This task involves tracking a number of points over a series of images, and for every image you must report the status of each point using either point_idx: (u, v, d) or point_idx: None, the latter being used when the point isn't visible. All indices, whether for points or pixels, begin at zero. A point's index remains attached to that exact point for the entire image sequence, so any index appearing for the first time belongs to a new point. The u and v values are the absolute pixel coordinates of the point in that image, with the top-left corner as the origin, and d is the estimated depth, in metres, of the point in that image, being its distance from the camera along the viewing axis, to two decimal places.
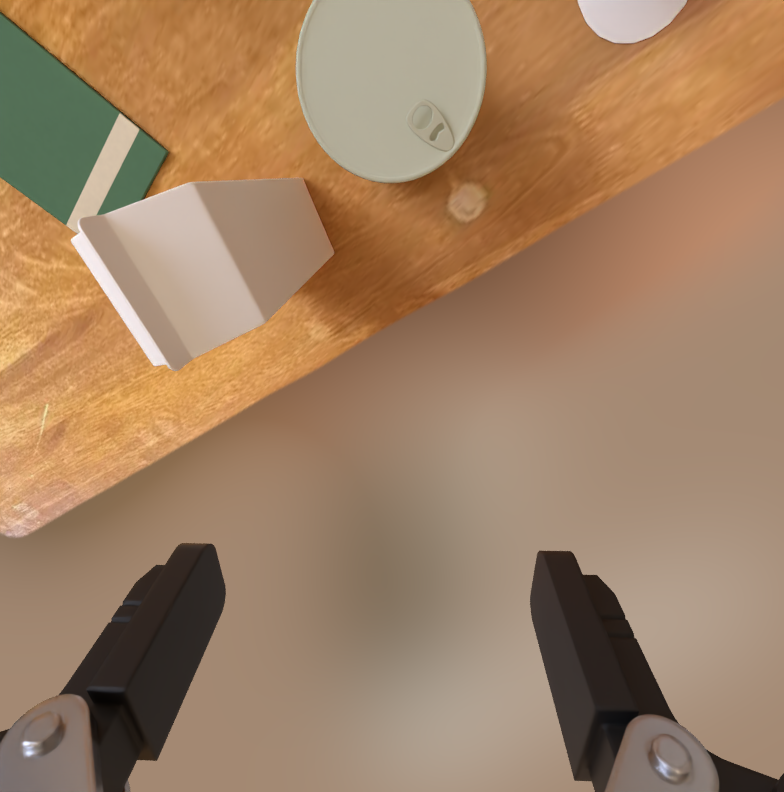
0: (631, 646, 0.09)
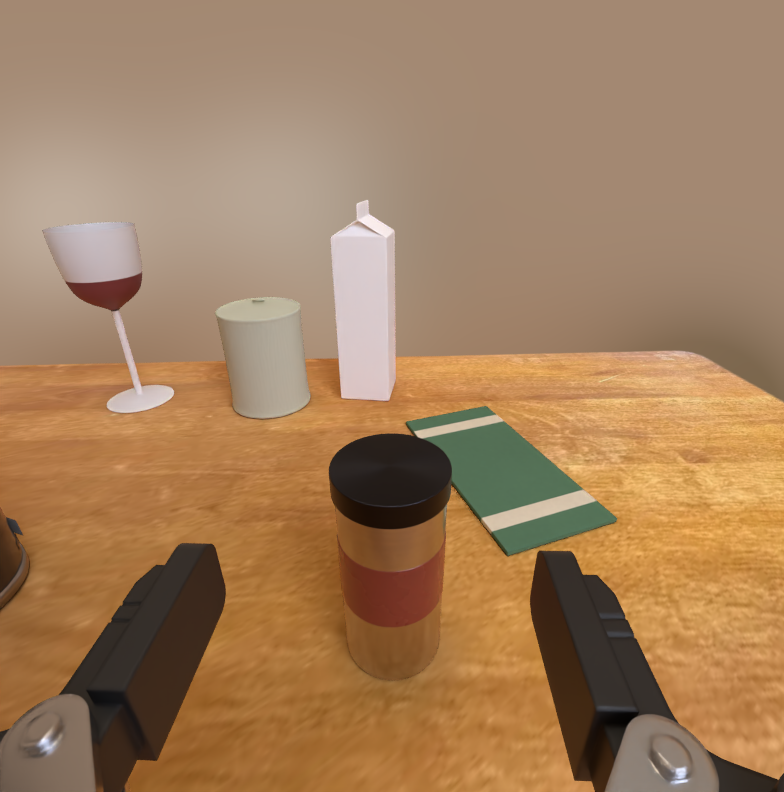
0: (631, 646, 0.09)
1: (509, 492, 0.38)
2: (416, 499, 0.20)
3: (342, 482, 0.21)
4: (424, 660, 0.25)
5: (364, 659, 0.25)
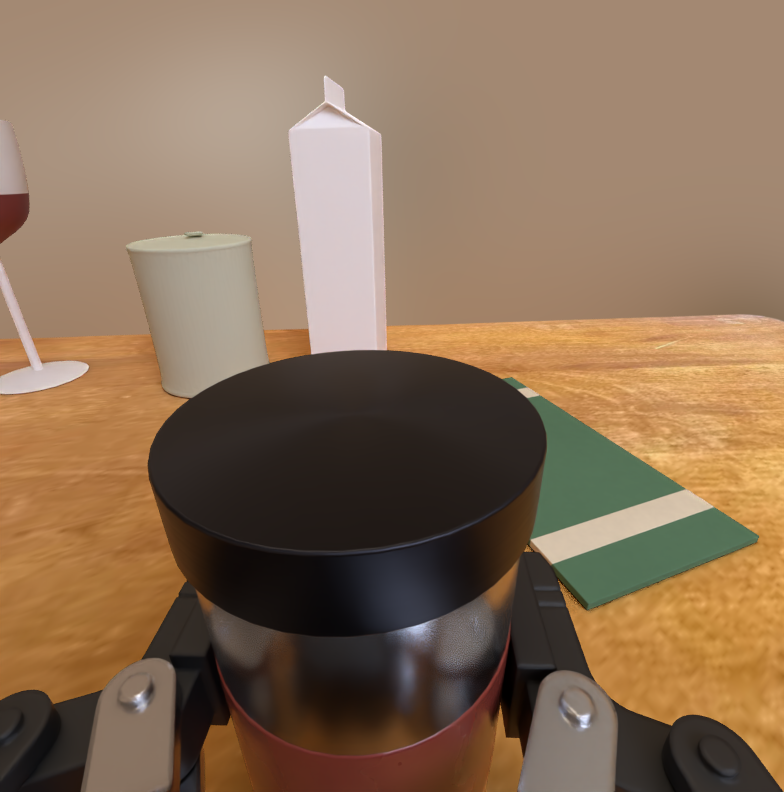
0: (562, 614, 0.09)
1: (569, 496, 0.24)
2: (442, 519, 0.05)
3: (180, 462, 0.06)
4: None
5: None
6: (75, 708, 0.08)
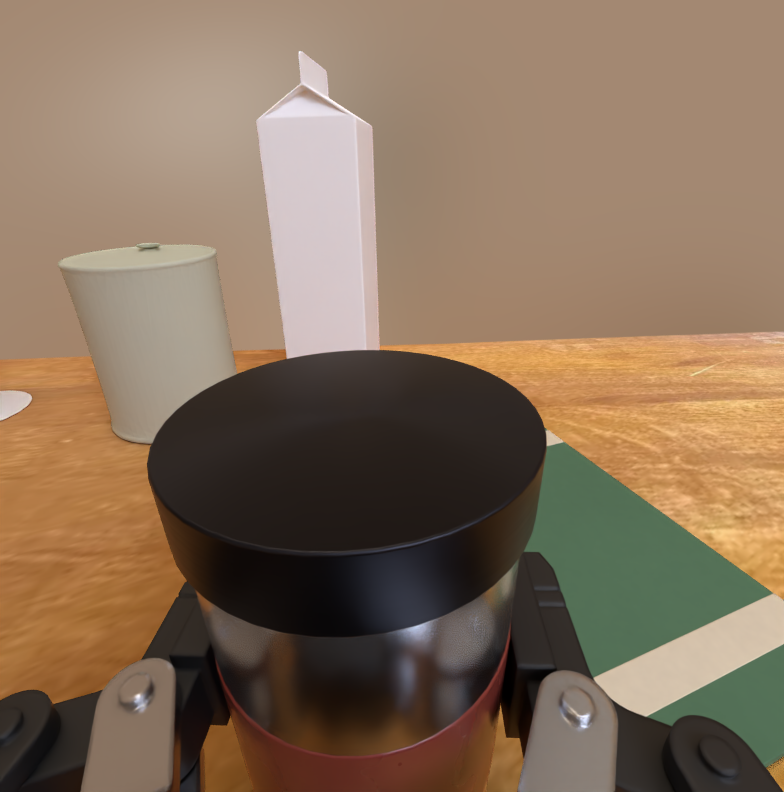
0: (561, 614, 0.09)
1: (619, 604, 0.18)
2: (441, 520, 0.05)
3: (179, 463, 0.06)
4: None
5: None
6: (75, 709, 0.08)
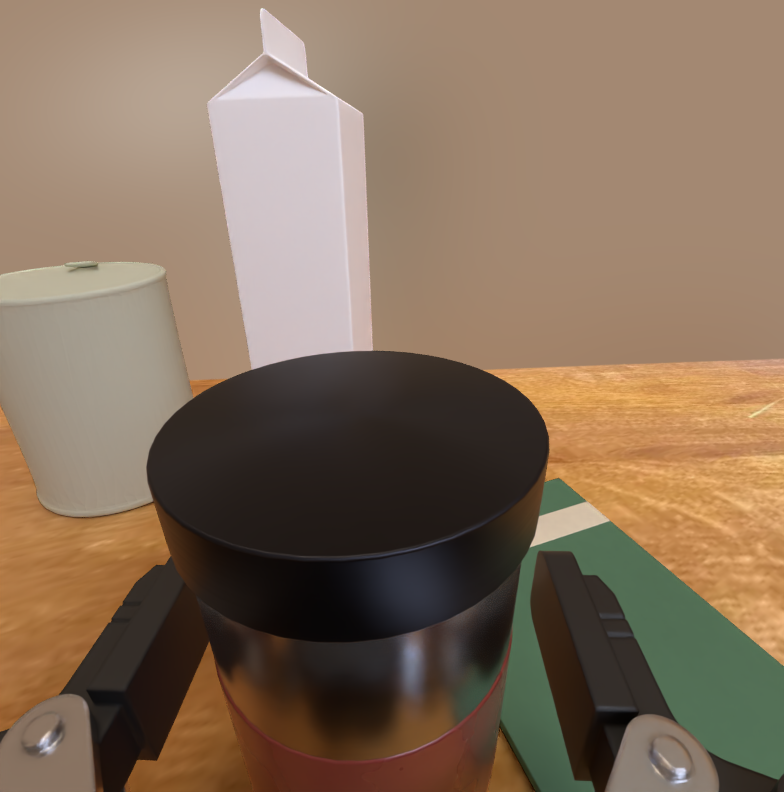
0: (631, 646, 0.09)
1: None
2: (443, 524, 0.05)
3: (180, 466, 0.06)
4: None
5: None
6: None
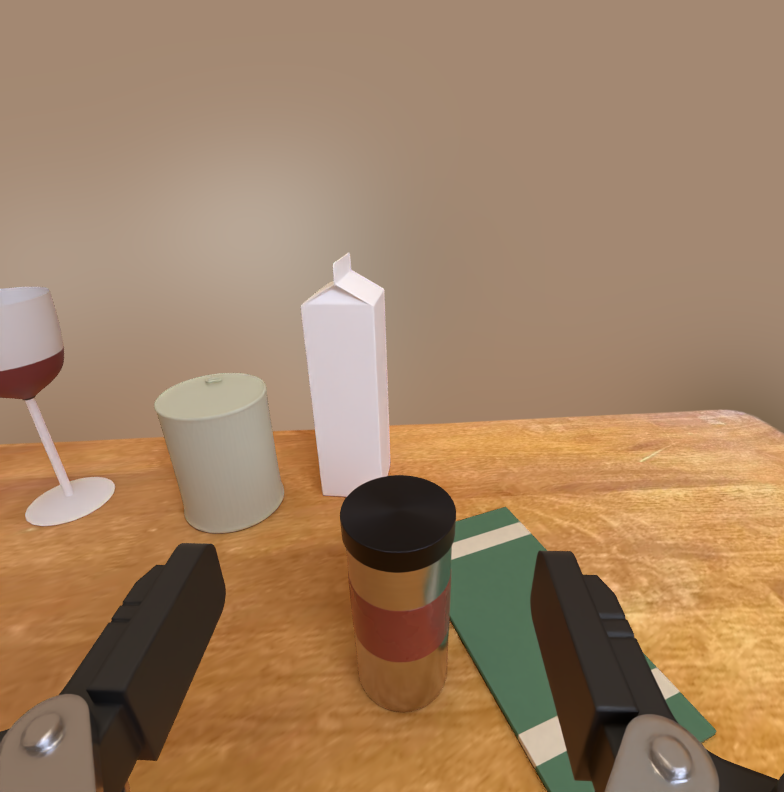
0: (631, 646, 0.09)
1: None
2: (423, 544, 0.21)
3: (353, 528, 0.22)
4: (433, 691, 0.26)
5: (375, 693, 0.26)
6: None
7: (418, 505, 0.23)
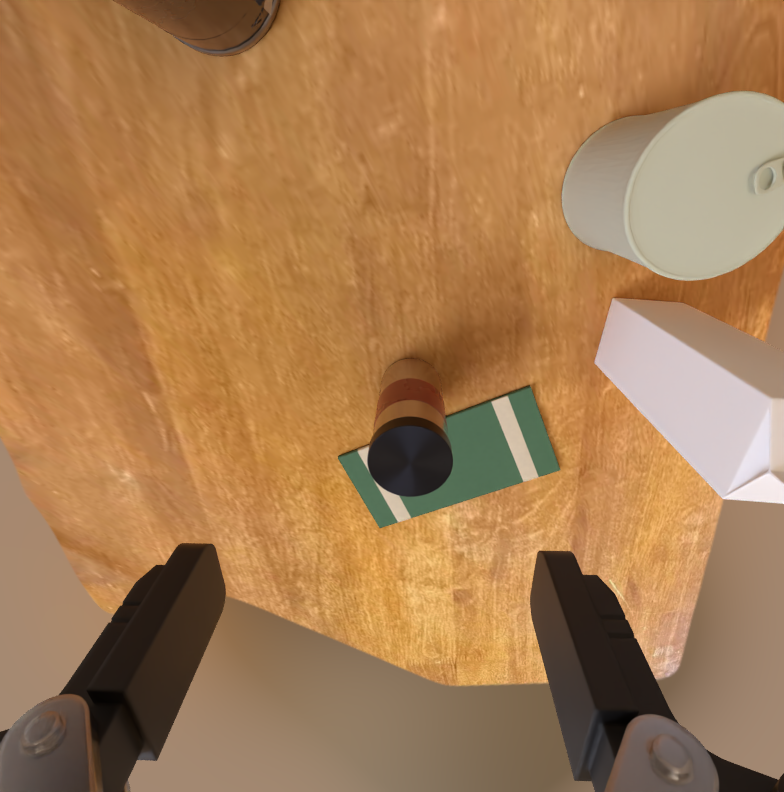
0: (631, 646, 0.09)
1: None
2: (375, 477, 0.32)
3: (388, 436, 0.30)
4: None
5: (384, 376, 0.41)
6: None
7: (414, 475, 0.31)
